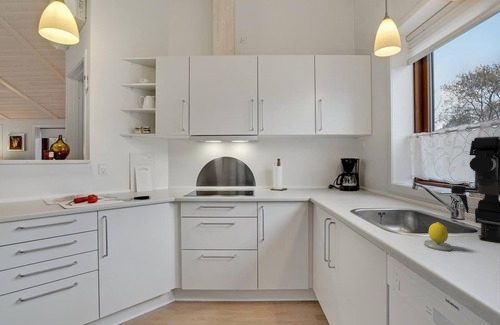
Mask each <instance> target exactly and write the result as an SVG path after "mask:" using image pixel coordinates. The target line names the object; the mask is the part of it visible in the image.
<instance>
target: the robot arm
mask: <svg viewBox="0 0 500 325" xmlns="http://www.w3.org/2000/svg"><path fill="white" fill-rule="evenodd" d="M469 148H470V150H469V156H472V157H473V156H474V157H473V158H472V159H471V160H470V161H469V167H470V169H471V170H472V171H474V187H466V185H463V184H462V185H461V184H460V185H459V184H452V185H451V186H450V192H451V194H454V195H455V196H456V197H459V198H460V200H461V201H462V203H463V207H464V209H465V211H466V214H469V213H470V212H469V211H470V210H469V204H468V197H467V196H468V195H467V193H471V194H480V195H484V198H482V199H480V200H479V201H478V203H477V207H476V208H475V209H474V210H475V211H474V221H475V222H474V223H476V224H480V234H478V238H479V240H480V241H487V242H493V243H498V244H500V136H498V135H497V136H478V137H474V138H473V140H471V143H470V147H469Z"/></svg>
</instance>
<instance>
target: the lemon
mask: <svg viewBox="0 0 500 325" xmlns="http://www.w3.org/2000/svg"><path fill="white" fill-rule="evenodd" d="M428 228H429V229H428V236H429V238H430V240H433V241H435V242H436V243H437V244H440V243H443V242H444V243H446V241H447V240H448V237H449V232H448V229H447V227H446V226H445V225H443V224H442V223H440V222H439V221H437V222H434V223H432V224H431V225H430V226H429V227H428Z"/></svg>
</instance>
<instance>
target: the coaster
mask: <svg viewBox="0 0 500 325" xmlns="http://www.w3.org/2000/svg"><path fill="white" fill-rule="evenodd" d="M423 246H424V247H426V246H427V248H428V249H432V250H436V251H440V252H441V251H442V252H452V251H453V246H452V245H451V244H449V243H447V242H443V243H440V244H437V243H436V242H435V241H433V240H432V239H430V240H429V239H427V240H424V242H423Z"/></svg>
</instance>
